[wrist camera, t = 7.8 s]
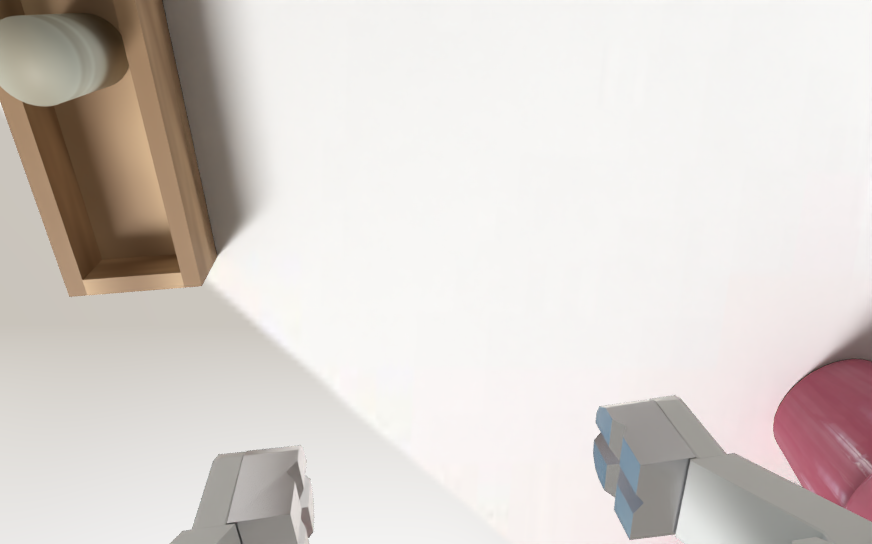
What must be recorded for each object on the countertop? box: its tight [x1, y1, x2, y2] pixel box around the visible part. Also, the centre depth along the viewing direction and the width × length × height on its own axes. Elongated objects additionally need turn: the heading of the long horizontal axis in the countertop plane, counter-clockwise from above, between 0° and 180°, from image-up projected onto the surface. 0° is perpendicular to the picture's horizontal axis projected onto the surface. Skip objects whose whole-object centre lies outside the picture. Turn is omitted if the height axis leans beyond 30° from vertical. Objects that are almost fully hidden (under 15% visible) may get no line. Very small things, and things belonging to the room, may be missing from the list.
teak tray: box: [0, 0, 217, 297], centre depth 23 cm, size 6×18×6 cm, turn 1°
